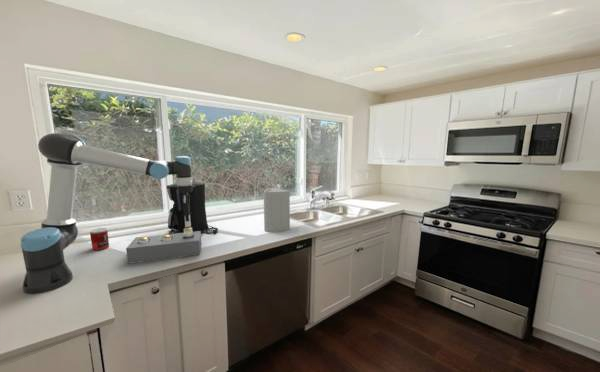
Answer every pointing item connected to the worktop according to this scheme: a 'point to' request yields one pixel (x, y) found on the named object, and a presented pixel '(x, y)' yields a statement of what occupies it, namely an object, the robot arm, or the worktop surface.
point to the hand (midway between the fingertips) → (188, 226)
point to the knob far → (188, 232)
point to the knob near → (144, 239)
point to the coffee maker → (196, 209)
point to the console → (164, 247)
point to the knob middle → (166, 237)
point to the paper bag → (276, 210)
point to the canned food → (99, 239)
